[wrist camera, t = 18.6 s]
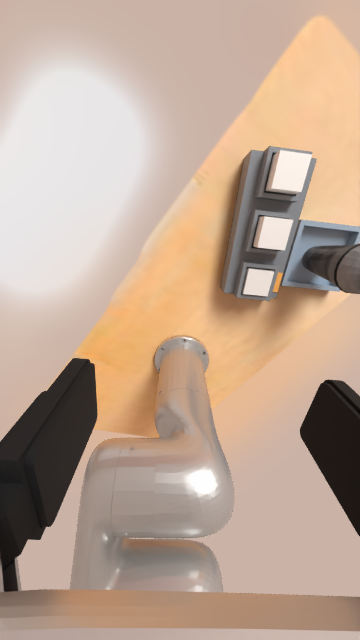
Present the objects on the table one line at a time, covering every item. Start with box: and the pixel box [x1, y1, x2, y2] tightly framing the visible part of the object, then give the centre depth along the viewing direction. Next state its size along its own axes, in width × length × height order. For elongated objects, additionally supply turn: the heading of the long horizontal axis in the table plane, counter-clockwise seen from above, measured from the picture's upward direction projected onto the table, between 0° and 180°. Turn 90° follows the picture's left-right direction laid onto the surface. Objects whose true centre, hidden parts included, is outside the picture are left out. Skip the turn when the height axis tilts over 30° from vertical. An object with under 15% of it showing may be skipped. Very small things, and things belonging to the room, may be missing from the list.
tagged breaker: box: [241, 267, 274, 296], centre depth 39 cm, size 4×4×2 cm
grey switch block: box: [220, 146, 317, 301], centre depth 37 cm, size 22×10×8 cm, turn 174°
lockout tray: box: [280, 220, 360, 292], centre depth 41 cm, size 12×12×2 cm
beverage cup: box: [302, 244, 360, 294], centre depth 32 cm, size 7×7×20 cm
